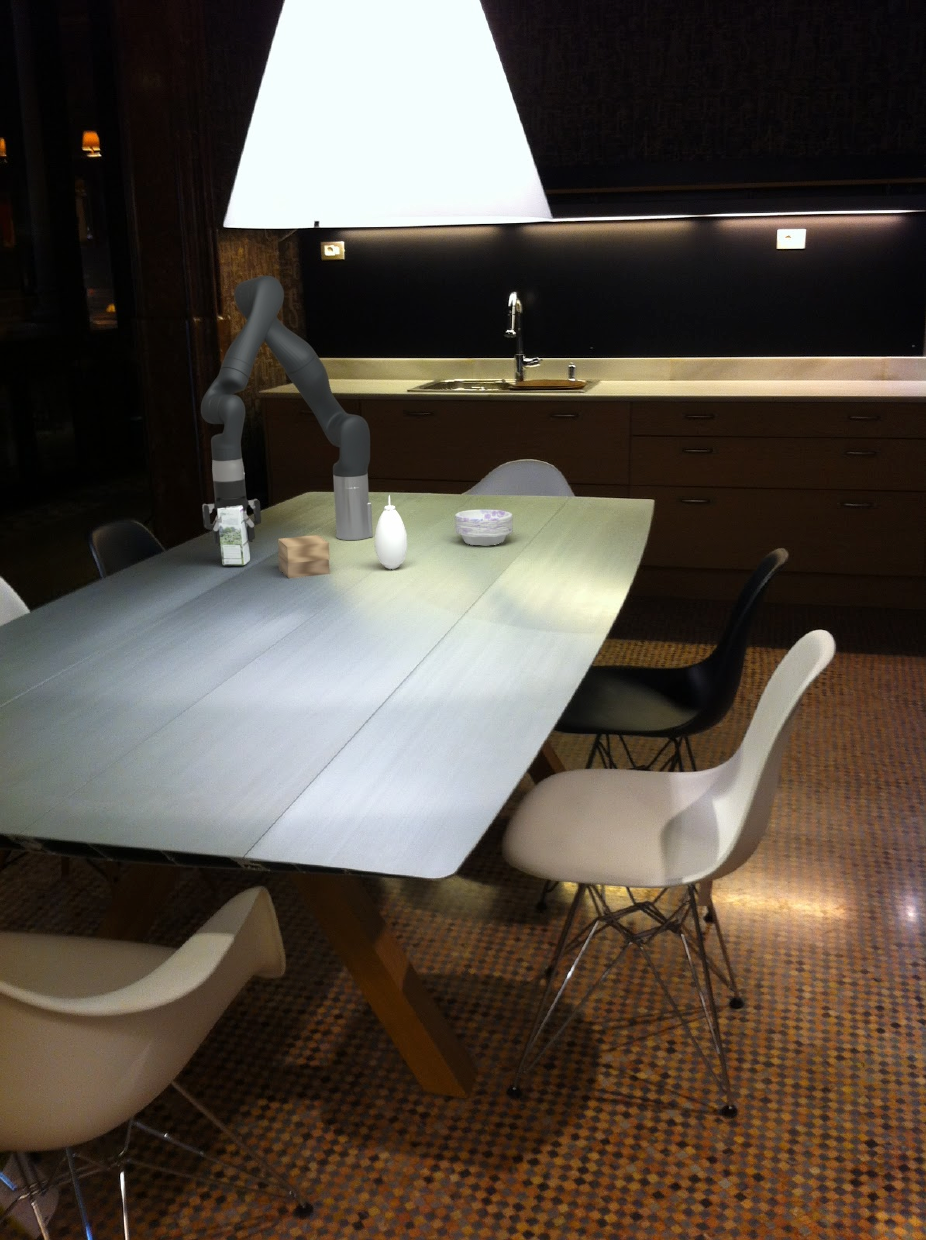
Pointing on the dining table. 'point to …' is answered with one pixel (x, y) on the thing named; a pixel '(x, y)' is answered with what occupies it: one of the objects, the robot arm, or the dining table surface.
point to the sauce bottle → (390, 538)
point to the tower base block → (303, 568)
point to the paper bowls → (483, 526)
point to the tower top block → (303, 549)
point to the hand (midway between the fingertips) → (234, 543)
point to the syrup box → (233, 536)
